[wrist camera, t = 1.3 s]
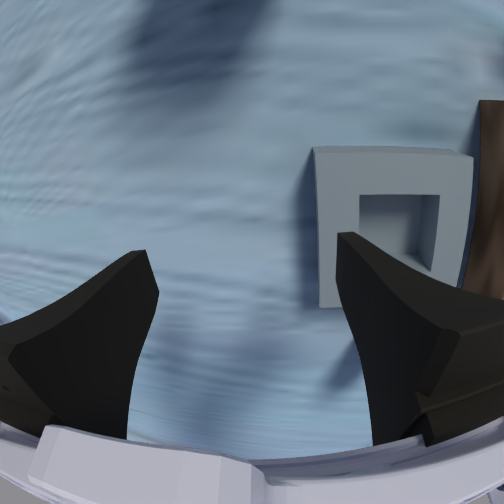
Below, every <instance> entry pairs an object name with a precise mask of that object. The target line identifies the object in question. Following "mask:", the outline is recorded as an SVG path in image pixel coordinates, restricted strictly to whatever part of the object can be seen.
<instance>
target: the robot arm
mask: <svg viewBox="0 0 504 504" xmlns="http://www.w3.org/2000/svg"><path fill="white" fill-rule="evenodd" d="M335 280H336V284H337V289H338V293H339V297H340V301H341V304H342V307H343V310H344V312H345V315H346V318H347V321H348V323H349V326H350V329H351V332H352V334H353V337H354V340H355V343H356V346H357V349H358V352H359V356H360V360H361V364H362V369H363V374H364V379H365V385H366V391H367V397H368V404H369V411H370V419H371V428H372V440H373V446H372V447H367V448H362V449H357V450H351V451H345V452H339V453H332V454H325V455H316V456H307V457H297V458H283V459H262V460H245V459H242V458H238V457H234V456H231V455H227V454H224V453H221V452H214V451H207V450H199V449H193V448H187V447H175V446H166V445H157V444H149V443H142V442H136V441H130V440H127V423H128V412H129V404H130V397H131V390H132V385H133V380H134V375H135V370H136V366H137V362H138V359H139V356H140V353H141V350H142V348H143V345H144V342H145V339H146V337H147V334H148V331H149V328H150V326H151V323H152V320H153V317H154V315H155V311H156V306H157V302H158V297H159V289H158V287H157V284H156V281H155V278H154V275H153V272H152V269H151V265H150V262H149V259H148V256H147V253H146V250H137V251H131V252H129V253H127V254H125V255H124V256H122V257H120V258H119V259H118V260H116V261H115V262H113V263H112V264H110V265H109V266H108V267H106V268H105V269H103V270H102V271H101V272H99V273H98V274H97V275H95V276H94V277H92V278H91V279H89V280H88V281H87V282H85V283H84V284H82V285H81V286H79V287H78V288H77V289H75V290H74V291H72V292H70V293H69V294H67V295H66V296H64V297H62V298H61V299H59V300H57V301H56V302H54V303H52V304H50V305H48V306H46V307H44V308H42V309H40V310H38V311H36V312H34V313H32V314H30V315H28V316H25V317H23V318H21V319H18V320H15V321H13V322H10V323H7V324H5V325H1V326H0V475H1V476H2V477H3V478H5V479H7V480H8V481H10V482H12V483H13V484H15V485H17V486H18V487H20V488H22V489H24V490H26V491H27V492H29V493H31V494H33V495H35V496H37V497H38V498H41V499H42V500H44V501H47V502H48V503H51V504H467V503H469V502H471V501H473V500H474V499H477V498H479V497H480V496H482V495H484V494H486V493H487V495H488V498H489V501H490V503H491V504H504V300H502V299H497V298H492V297H487V296H483V295H479V294H476V293H472V292H469V291H465V290H462V289H459V288H456V287H454V286H451V285H449V284H446V283H443V282H441V281H438V280H436V279H434V278H431V277H429V276H427V275H425V274H423V273H421V272H419V271H417V270H415V269H413V268H411V267H409V266H408V265H406V264H404V263H402V262H401V261H399V260H397V259H396V258H394V257H392V256H391V255H389V254H388V253H386V252H385V251H383V250H382V249H380V248H378V247H377V246H376V245H374V244H373V243H371V242H370V241H368V240H367V239H365V238H364V237H362V236H360V235H359V234H357V233H355V232H353V231H352V232H339V233H337V255H336V277H335Z"/></svg>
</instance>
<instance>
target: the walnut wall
mask: <svg viewBox="0 0 504 504" xmlns="http://www.w3.org/2000/svg"><path fill="white" fill-rule="evenodd" d="M479 103H480V127H481V151H480V175H479V189H478V199H477V208H476V217H475V224H474V231H473V237H472V243H471V248H470V254H469V259H468V263H467V268H466V273H465V277H464V281H463V285H462V290H465V291H469V292H472V293H476V294H479V295H483V296H487V297H492V298H497V299H502V300H504V101H499V100H479Z"/></svg>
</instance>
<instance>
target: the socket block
mask: <svg viewBox="0 0 504 504" xmlns="http://www.w3.org/2000/svg"><path fill="white" fill-rule="evenodd" d="M312 148H313V162H314V177H315V196H316V219H317V255H318V291H319V308H336V307H342V304H341V301H340V297H339V293H338V289H337V284H336V280H335V277H336V255H337V233H339V232H352V231H353V232H355V233H357V234H359V235H360V236H362V237H364V238H365V239H367V240H368V241H370V242H371V243H373V244H374V245H376V246H377V247H378V248H380V249H382V250H383V251H385V252H386V253H388V254H389V255H391V256H392V257H394V258H396V259H397V260H399V261H401V262H402V263H404V264H406V265H408V266H409V267H411V268H413V269H415V270H417V271H419V272H421V273H423V274H425V275H427V276H429V277H431V278H434V279H436V280H438V281H441V282H443V283H446V284H449V285H451V286H454V287H456V285H457V281H458V277H459V272H460V267H461V262H462V257H463V252H464V246H465V241H466V234H467V228H468V220H469V213H470V204H471V193H472V181H473V161H474V158H473V157H470V156H467V155H465V154H462V153H459V152H456V151H453V150H449V149H439V148H424V147H402V146H323V147H312Z"/></svg>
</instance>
